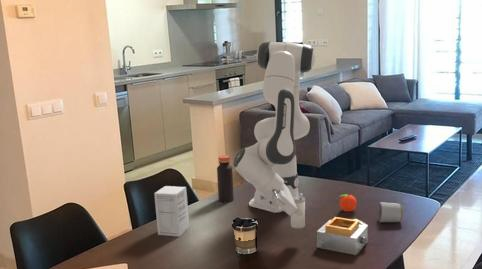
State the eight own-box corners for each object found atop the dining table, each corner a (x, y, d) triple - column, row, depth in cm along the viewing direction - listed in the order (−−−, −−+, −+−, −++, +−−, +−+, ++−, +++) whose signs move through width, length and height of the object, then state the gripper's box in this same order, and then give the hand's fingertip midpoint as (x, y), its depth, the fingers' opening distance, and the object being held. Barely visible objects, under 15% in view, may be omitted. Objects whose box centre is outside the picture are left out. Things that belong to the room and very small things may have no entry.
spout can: (288, 226, 186) (288, 194, 183) (294, 221, 190) (294, 190, 187) (301, 229, 183) (301, 196, 181) (307, 224, 188) (307, 192, 185)
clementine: (335, 212, 215) (335, 196, 213) (338, 207, 221) (338, 191, 219) (355, 214, 212) (355, 198, 210) (358, 208, 218) (358, 192, 217)
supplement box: (190, 228, 206) (187, 186, 202) (180, 237, 197) (176, 194, 194) (168, 225, 209) (164, 185, 205) (157, 235, 200) (153, 192, 197)
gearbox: (317, 247, 183) (316, 225, 181) (330, 235, 193) (329, 214, 191) (359, 255, 175) (359, 233, 174) (370, 242, 185) (371, 220, 184)
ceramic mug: (403, 225, 199) (403, 205, 198) (381, 225, 200) (381, 205, 199) (397, 215, 210) (397, 196, 208) (376, 215, 210) (376, 197, 209)
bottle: (236, 198, 237) (234, 155, 233) (228, 203, 231) (226, 159, 227) (224, 196, 241) (222, 154, 236) (215, 201, 235) (213, 157, 231)
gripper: (282, 189, 172) (311, 216, 175) (274, 170, 192) (300, 194, 195) (268, 203, 173) (298, 229, 176) (262, 182, 193) (289, 206, 196)
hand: (299, 210), depth 186 cm, fingers closed on spout can, 5 cm apart
